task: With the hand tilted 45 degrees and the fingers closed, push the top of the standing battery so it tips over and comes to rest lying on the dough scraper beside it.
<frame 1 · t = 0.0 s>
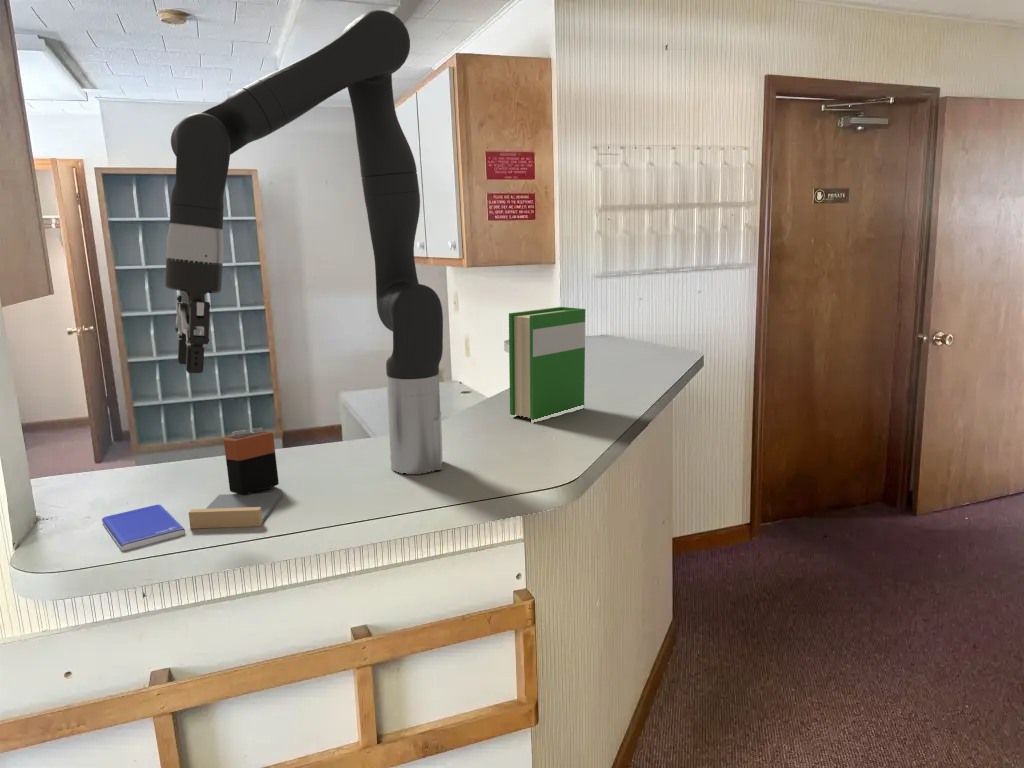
hand: (189, 368, 105), 22 cm above the table, tool pointing down, fingers open, 8 cm apart
hard drive: (143, 533, 103), on the table
battery: (255, 490, 117), on the table
dough scraper: (239, 509, 109), on the table
hardback book: (547, 414, 165), on the table
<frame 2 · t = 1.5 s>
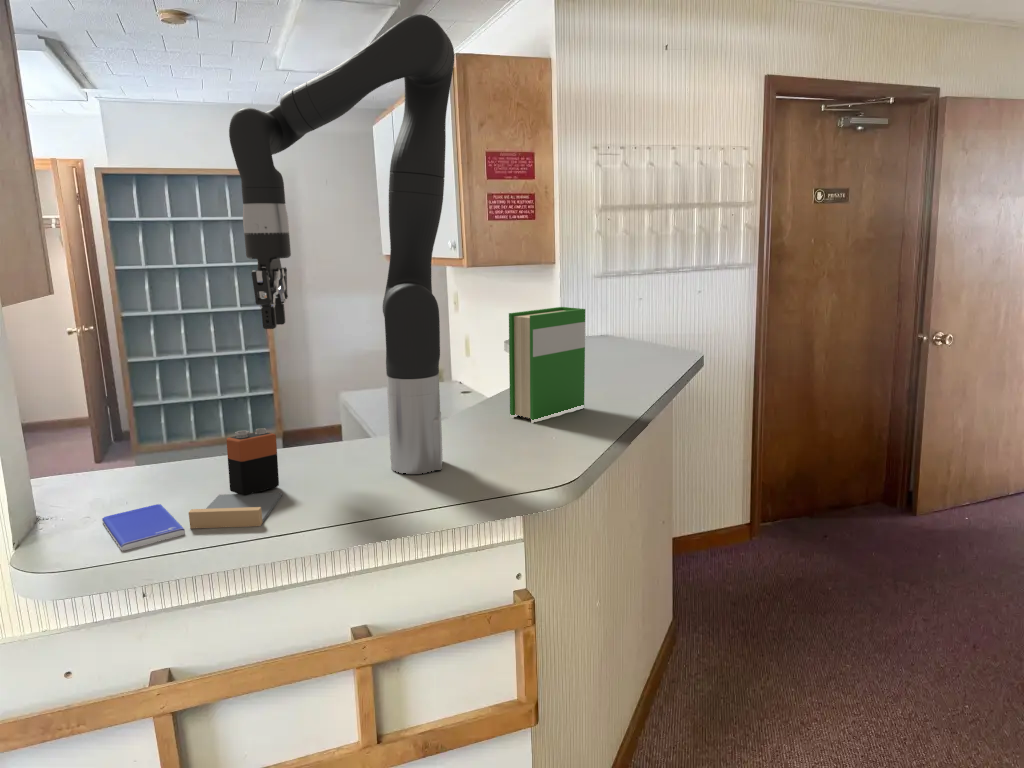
hand: (274, 326, 127), 25 cm above the table, tool pointing down, fingers open, 5 cm apart
battery: (255, 490, 117), on the table, touching dough scraper
everything else where it was.
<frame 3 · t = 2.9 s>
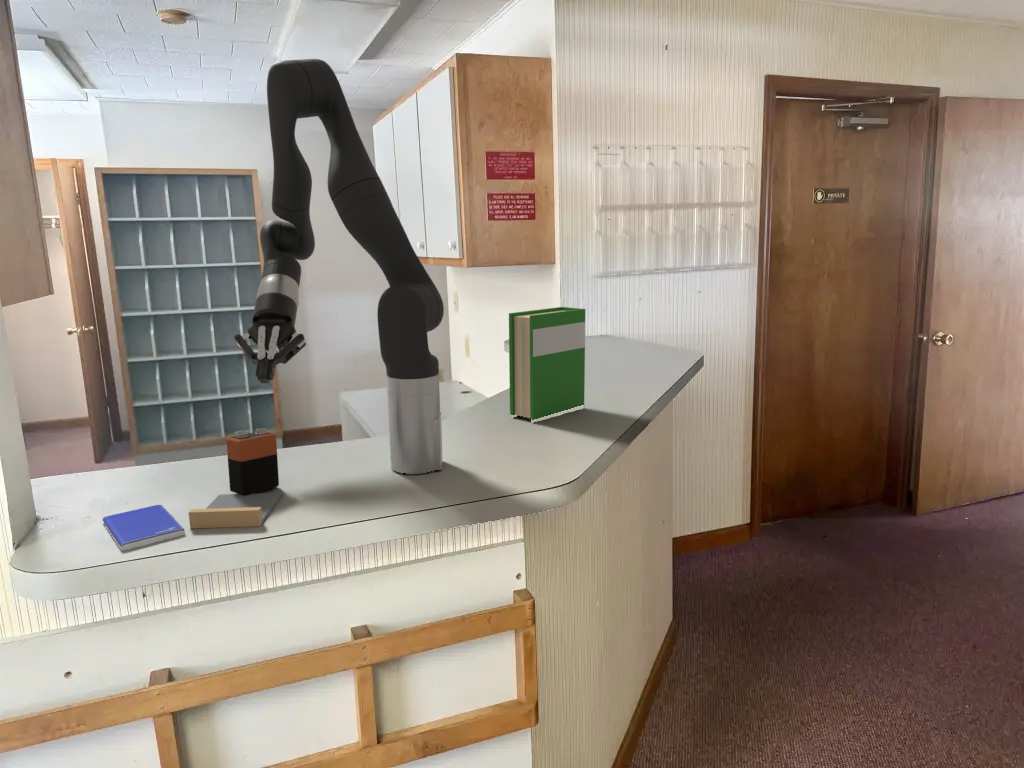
hand: (264, 380, 123), 17 cm above the table, tool tilted 45°, fingers closed
nothing on the table moved.
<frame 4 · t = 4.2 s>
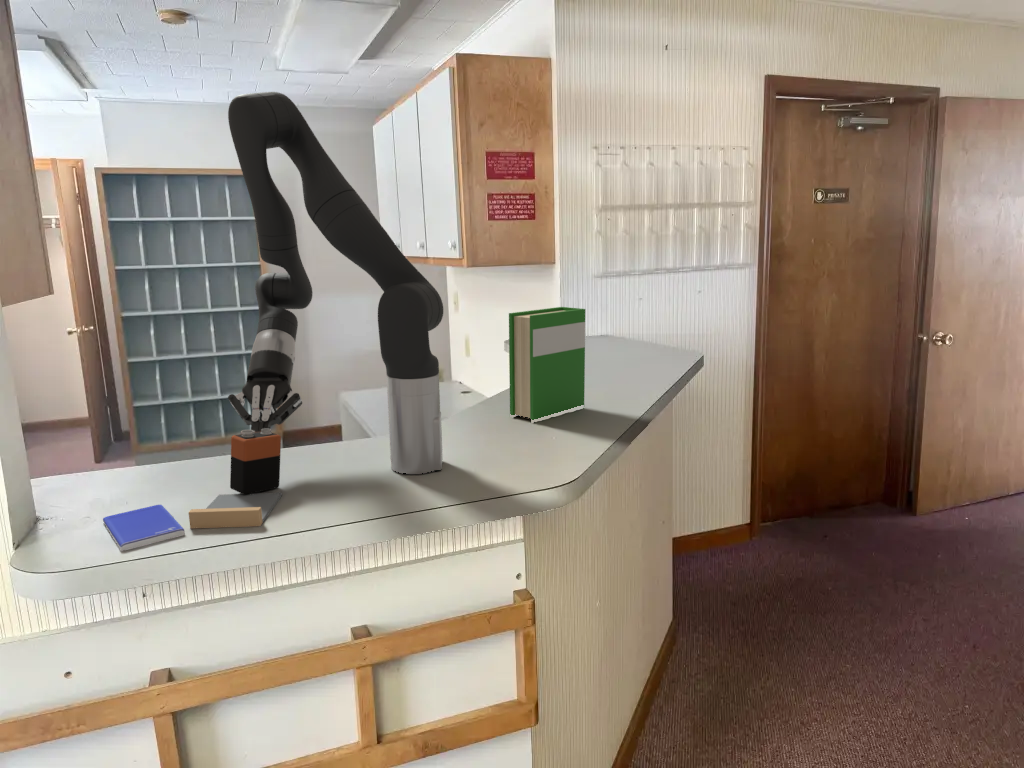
hand: (258, 444, 119), 7 cm above the table, tool tilted 45°, fingers closed
battery: (254, 489, 117), on the table, touching gripper, dough scraper
everything else where it was.
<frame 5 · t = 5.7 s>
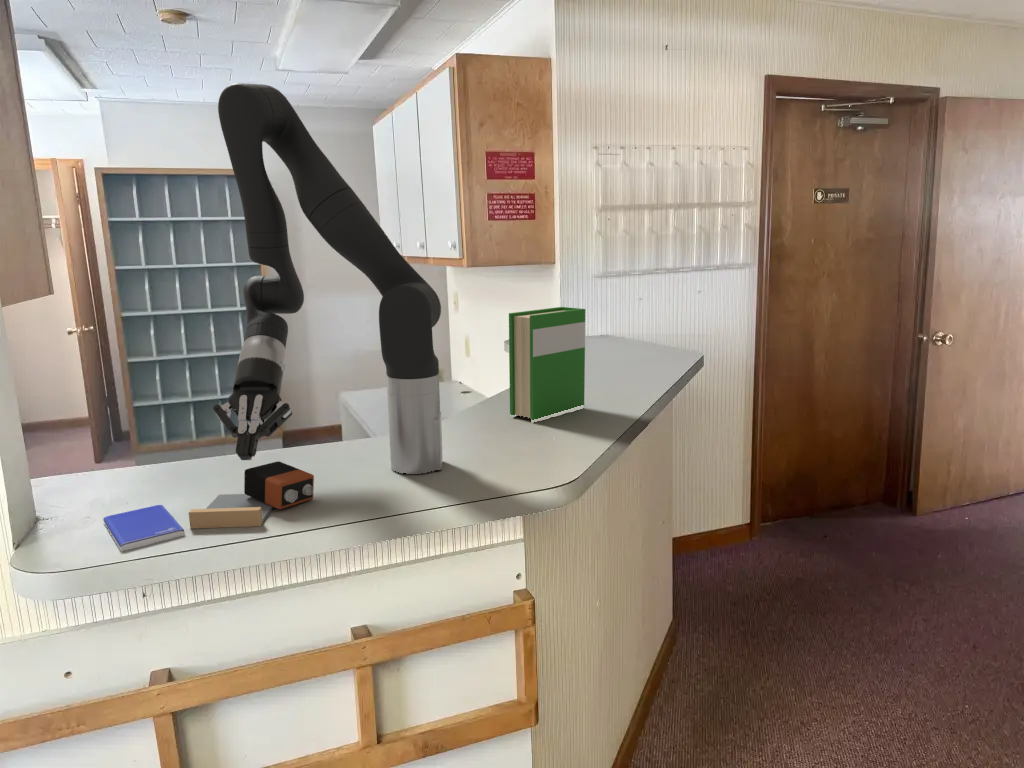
hand: (244, 457, 112), 7 cm above the table, tool tilted 45°, fingers closed
battery: (260, 476, 115), point 3 cm above the table, touching dough scraper
everything else where it was.
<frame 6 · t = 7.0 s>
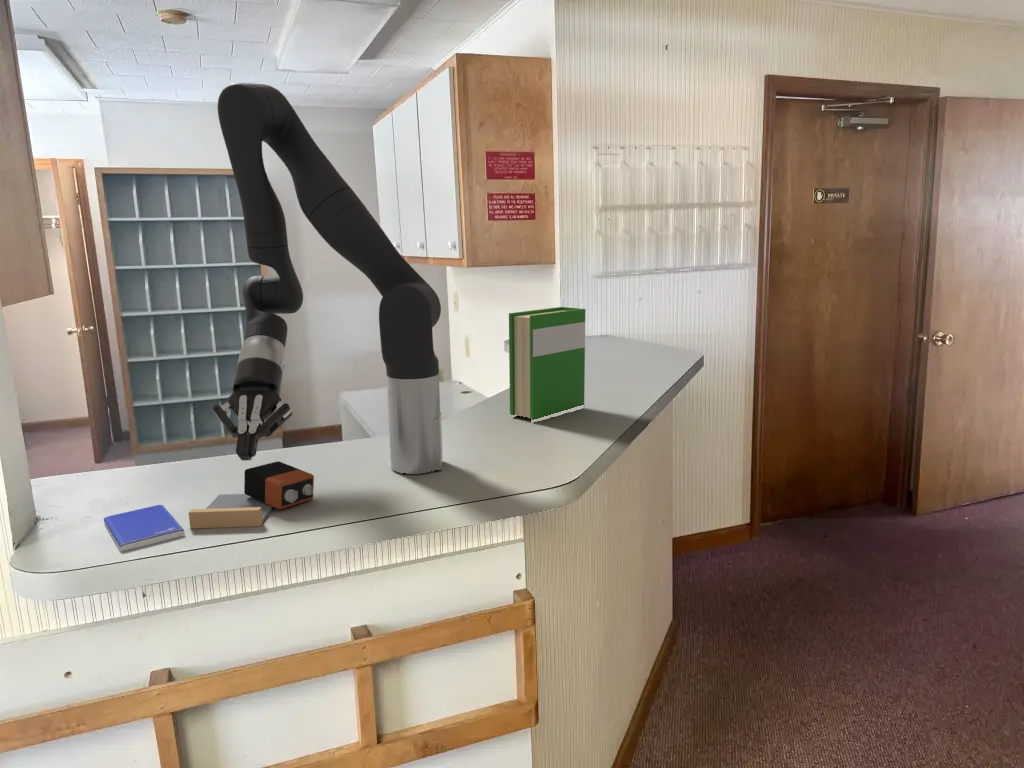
hand: (245, 458, 112), 7 cm above the table, tool tilted 45°, fingers closed
nothing on the table moved.
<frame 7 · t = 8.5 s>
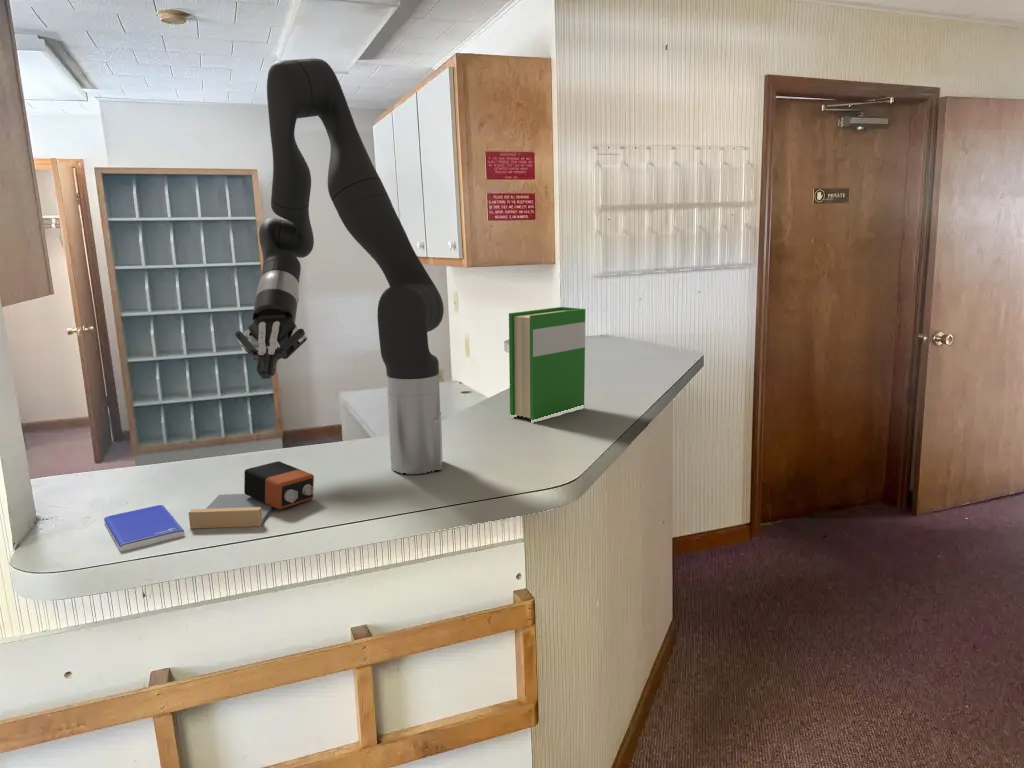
hand: (265, 376, 123), 17 cm above the table, tool tilted 45°, fingers closed
nothing on the table moved.
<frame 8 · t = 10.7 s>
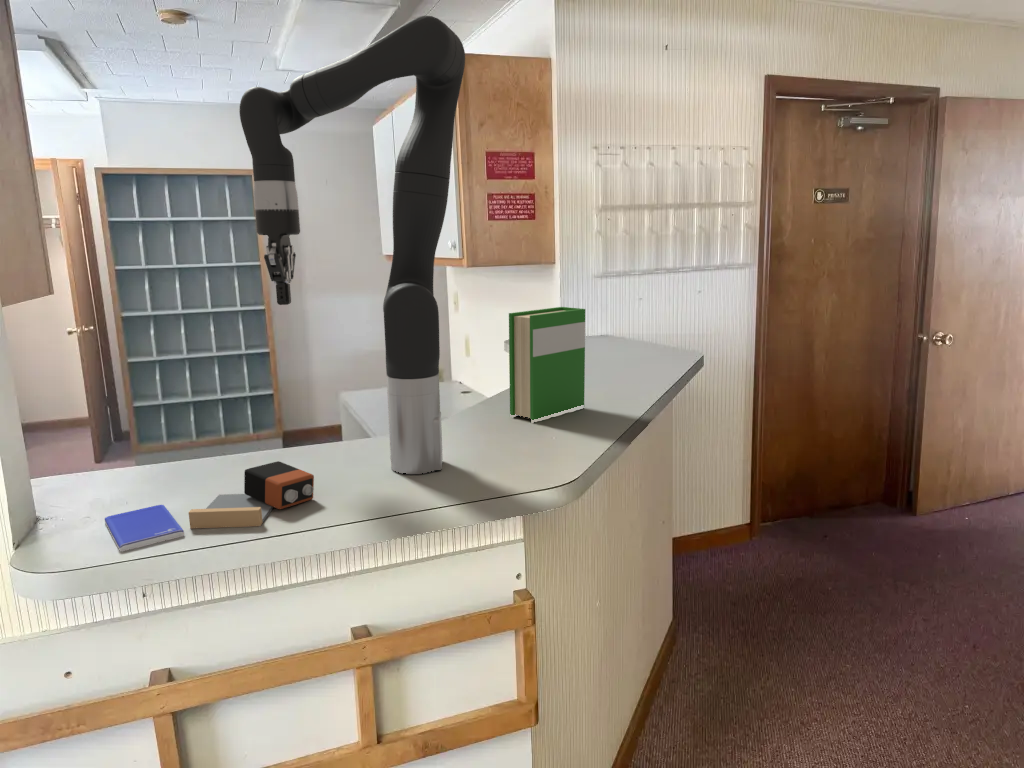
hand: (284, 304, 130), 29 cm above the table, tool pointing down, fingers closed
nothing on the table moved.
at the end: battery tilted 94°; battery inside the target area (6.2 cm from its centre), point 3.0 cm above the table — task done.
